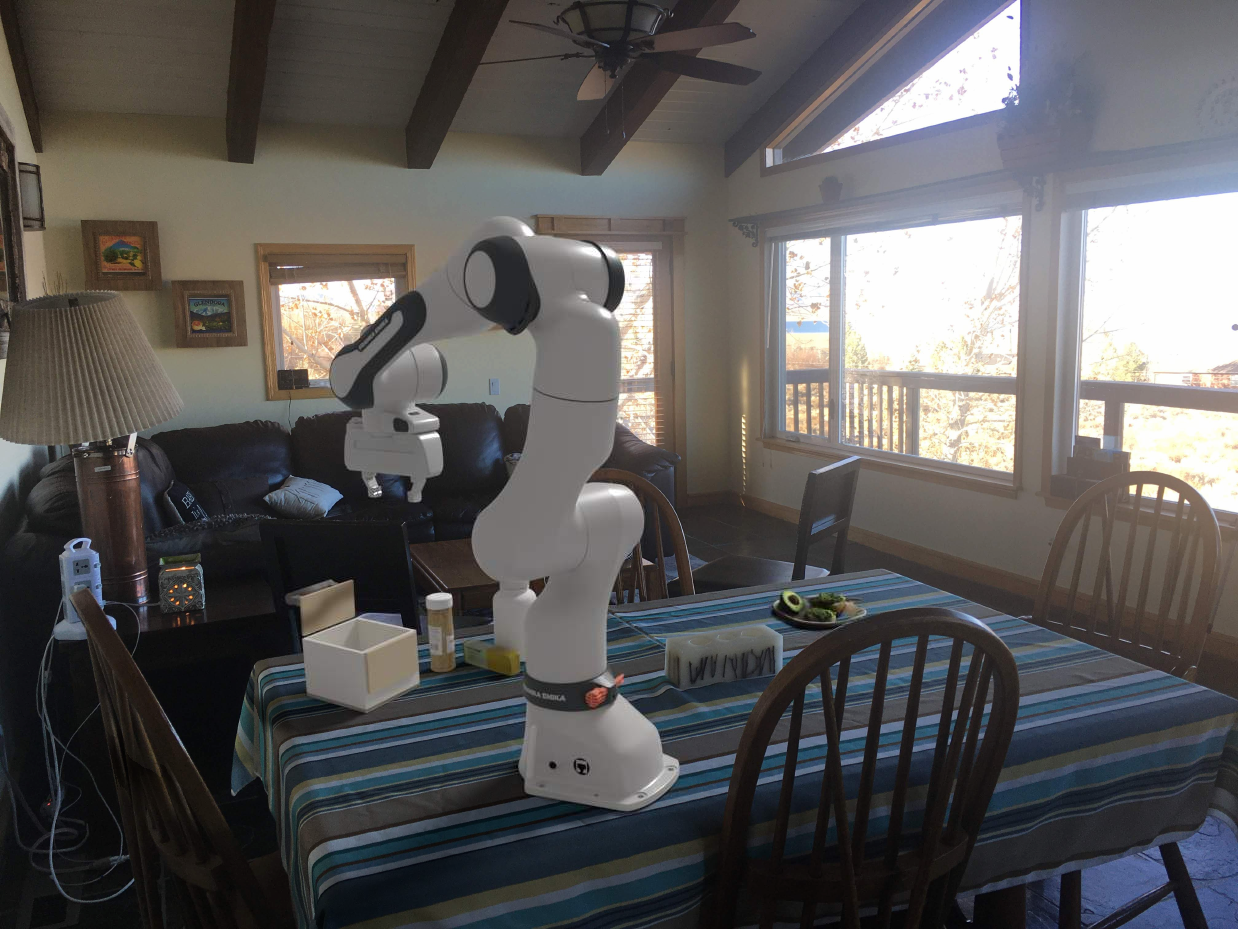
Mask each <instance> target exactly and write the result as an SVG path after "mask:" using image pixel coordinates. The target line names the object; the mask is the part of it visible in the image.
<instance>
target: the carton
mask: <svg viewBox="0 0 1238 929" xmlns="http://www.w3.org/2000/svg"><path fill="white" fill-rule="evenodd" d="M417 638H418V637H417V629H412V628H408V627H404V626H398V625H396V624H390V623H387V622H386V623H384V622H381V621H375V620H371V619H367V618H363V617H356V618H355V617H354V618H351V619H349V620H346V621H343V622H341V623H340V624H339V623H338V624H337V625H333V626H330V628H325V629H323V630H320V631H319V632H315V633H314V634H313V633H312V634H311V635H307V636H306V637H304V638H302V639H301V640H302V650H303V652H302V653H303V664H304V672H305V673H304V674H305V685H306V686H305V687H306V695H307V697H310V698H313V699H318V700H320V701H324V702H327V703H330V704H332V705H333V704H334V705H337V706H340V707H344V708H347V709H349V710H350V709H351V710H354V711H358V712H360V713H364V714H368V713H369V712H372V711H373V710H376V709H378V708H380V707H382V706H384V705H386V704H388V703H389V702H392V701H393V700H396V699H397V698H400V697H401V696H403V695H405V694H408V693H410V692H412V691H413V690H415V689H419V687H420V686H421V684H420V683H421V682H420V680H421V679H420V667H419V666H420V665H419V652H418V650H419V649H418V641H417V640H418V639H417Z"/></svg>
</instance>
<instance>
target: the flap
mask: <svg viewBox="0 0 1238 929" xmlns="http://www.w3.org/2000/svg"><path fill="white" fill-rule="evenodd" d="M354 585H355V584H354V580H353V579H350V580H347V581H344V582H341V583H340V582H339V583H338V582H335V581H334V580H332V579H328V580H325V581H322V582H319V583H316V584H313V585H310V586H307V587H304V588H299V589H298V590H294V591H291V592H289V593H286V594H285V597H284V599H285V603H286V604H287V605H289V606H292V605H293V606H298V607H300V621H301V635H302V636H303V637H305V636H309V635H310V634H311V635H312V634H313V633H317V631H319V632H320V631H322V630H325V629H327V628H328V627H333V626H335V625H336V624H337V625H338V624H339V623H343V622H346V621H348V620H351V619H353V618H355V617H356V608H355V590H354V588H355V587H354Z"/></svg>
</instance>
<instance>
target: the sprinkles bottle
mask: <svg viewBox="0 0 1238 929" xmlns="http://www.w3.org/2000/svg"><path fill="white" fill-rule="evenodd" d="M425 605H426V606H425V607H426V610H427V628H428V630H427V631H428V643H429V652H430V670H432V671H433V672H436V673H445V672H446V673H447V672H451V671H453V670H454V669H455V668H456V667H457V663H456V654H455V653H456V652H455V648H456V647H455V635H454V622H453V610H452V608H453V605H454V604H453V596H452V594H451V593H447V592H437V593H436V592H435V593H431V594H429V595H427V596H426V597H425Z"/></svg>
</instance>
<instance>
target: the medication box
mask: <svg viewBox="0 0 1238 929" xmlns="http://www.w3.org/2000/svg"><path fill="white" fill-rule="evenodd" d="M462 652H463V653H462V654H463V663H466V664H470V665H473V666H476V667H479V668H483V669H486V670H490V671H492V672H496V673H500V674H502V675H506V676H510V677H513V676H515V675H517V674H519V673H520V671H521V662H520V657H519V652H517V651H513V650H510V649H506V648H503V647H499V646H496V645H495V644H492V643H489V642H485V641H480V640H479V639H475V638H470V639H467V640H465V641H464V642H462ZM514 674H515V675H514ZM512 675H513V676H512Z"/></svg>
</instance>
